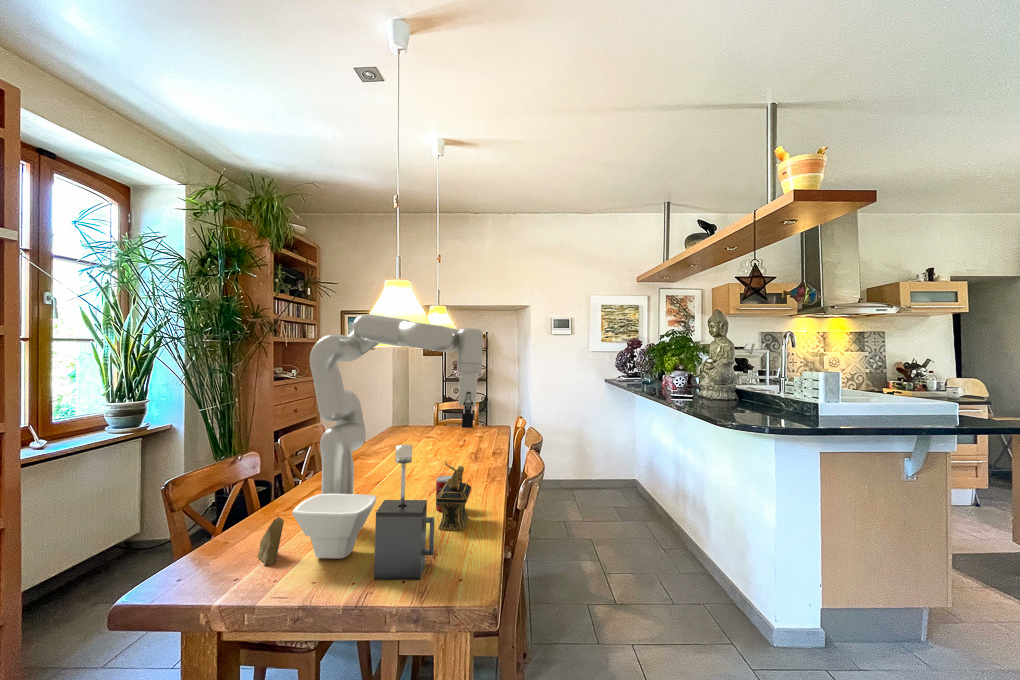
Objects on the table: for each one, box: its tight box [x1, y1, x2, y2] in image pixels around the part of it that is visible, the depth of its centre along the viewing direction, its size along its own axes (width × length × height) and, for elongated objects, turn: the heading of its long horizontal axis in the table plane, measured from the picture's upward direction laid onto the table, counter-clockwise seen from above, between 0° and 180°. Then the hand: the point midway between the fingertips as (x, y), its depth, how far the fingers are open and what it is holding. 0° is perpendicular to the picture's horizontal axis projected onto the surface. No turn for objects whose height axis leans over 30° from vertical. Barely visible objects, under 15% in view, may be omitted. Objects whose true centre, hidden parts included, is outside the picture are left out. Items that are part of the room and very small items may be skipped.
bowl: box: [291, 493, 377, 559], centre depth 138 cm, size 19×19×14 cm
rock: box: [257, 516, 285, 566], centre depth 135 cm, size 11×9×10 cm
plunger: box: [395, 444, 413, 507], centre depth 130 cm, size 9×9×20 cm
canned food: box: [435, 475, 452, 513], centre depth 181 cm, size 8×8×11 cm
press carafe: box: [373, 499, 435, 581], centre depth 129 cm, size 14×11×16 cm
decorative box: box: [435, 460, 472, 531], centre depth 165 cm, size 20×10×20 cm, turn 179°
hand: (467, 425), depth 156 cm, fingers open, 9 cm apart
